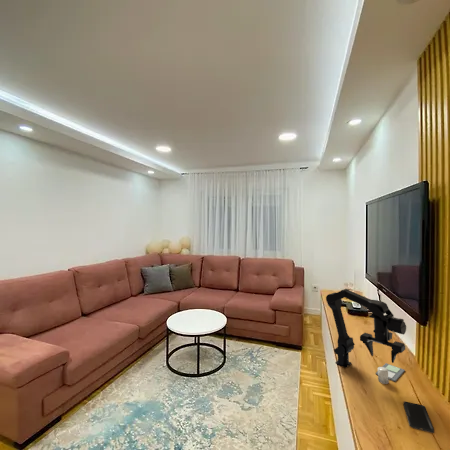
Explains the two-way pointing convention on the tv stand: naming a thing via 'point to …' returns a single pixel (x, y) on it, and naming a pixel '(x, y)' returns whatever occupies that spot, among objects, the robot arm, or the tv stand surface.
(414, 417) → the phone
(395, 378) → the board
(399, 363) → the tv stand surface
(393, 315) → the robot arm
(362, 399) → the tv stand surface
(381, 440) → the tv stand surface
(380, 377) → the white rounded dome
